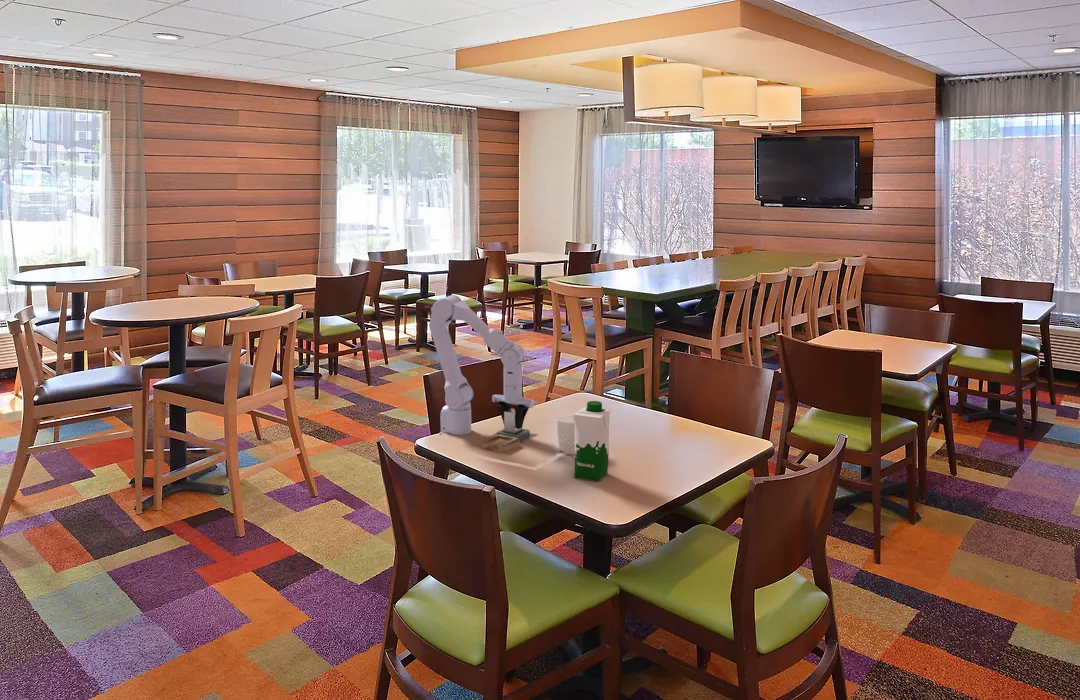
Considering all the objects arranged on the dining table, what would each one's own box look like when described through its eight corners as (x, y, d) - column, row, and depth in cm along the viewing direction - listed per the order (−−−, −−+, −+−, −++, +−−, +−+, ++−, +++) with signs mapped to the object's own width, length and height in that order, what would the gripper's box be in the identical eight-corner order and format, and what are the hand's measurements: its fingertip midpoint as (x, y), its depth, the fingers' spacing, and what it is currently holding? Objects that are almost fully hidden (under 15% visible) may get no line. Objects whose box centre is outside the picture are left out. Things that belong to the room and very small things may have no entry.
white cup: (581, 456, 230) (581, 423, 228) (554, 454, 231) (554, 421, 229) (585, 447, 237) (585, 415, 235) (559, 446, 239) (559, 414, 237)
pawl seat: (482, 451, 234) (482, 441, 233) (497, 444, 241) (497, 433, 240) (504, 456, 230) (504, 445, 229) (519, 448, 237) (519, 438, 236)
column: (503, 436, 245) (503, 411, 244) (511, 432, 249) (511, 408, 247) (515, 438, 243) (514, 413, 241) (522, 434, 246) (522, 410, 245)
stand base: (488, 439, 245) (488, 432, 244) (506, 431, 253) (506, 424, 253) (520, 446, 239) (520, 438, 238) (537, 437, 247) (537, 429, 247)
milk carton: (611, 472, 216) (612, 402, 212) (600, 483, 208) (601, 411, 204) (581, 468, 220) (582, 399, 216) (569, 478, 212) (570, 407, 208)
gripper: (539, 384, 242) (539, 427, 245) (500, 378, 250) (501, 420, 252) (527, 389, 236) (527, 432, 239) (487, 383, 244) (488, 425, 246)
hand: (513, 426), depth 245 cm, fingers open, 4 cm apart
